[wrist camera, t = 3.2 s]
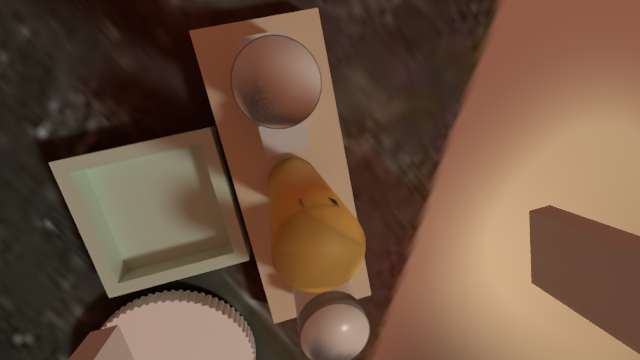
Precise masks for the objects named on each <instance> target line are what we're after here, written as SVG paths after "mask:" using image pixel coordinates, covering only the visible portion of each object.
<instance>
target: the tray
mask: <svg viewBox="0 0 640 360" xmlns="http://www.w3.org/2000/svg"><path fill="white" fill-rule="evenodd" d="M49 165H50V168H51V170H52V172H53V174H54V177H55V179H56V181H57V183H58V185H59V188H60V190H61V192H62V194H63V197H64V199H65V201H66V203H67V205H68V208H69V210H70V212H71V214H72V217H73V219H74V221H75V223H76V225H77V228H78V230H79V232H80V234H81V237H82V239H83V241H84V243H85V245H86V248H87V250H88V252H89V254H90V257H91V259H92V261H93V263H94V266H95V268H96V270H97V272H98V274H99V277H100V279H101V281H102V283H103V286H104V288H105V290H106V292H107V294H108V297H109V298H112V297H116V296H119V295H123V294H127V293H130V292H134V291H138V290H141V289H145V288H149V287H152V286H156V285H160V284H164V283H167V282H171V281H175V280H178V279H182V278H186V277H189V276H193V275H197V274H200V273H204V272H208V271H212V270H215V269H219V268H223V267H226V266H230V265H234V264H237V263H241V262H245V261H249V259H250V249H251V246H250V243H249V240H248V236H247V233H246V229H245V226H244V222H243V219H242V216H241V212H240V209H239V205H238V202H237V199H236V195H235V192H234V188H233V185H232V181H231V178H230V175H229V171H228V168H227V164H226V161H225V157H224V154H223V151H222V147H221V144H220V140H219V137H218V134H217V130H216V127H215V126H211V127H207V128H202V129H197V130H193V131H188V132H184V133H179V134H174V135H170V136H165V137H160V138H156V139H151V140H146V141H142V142H137V143H133V144H128V145H123V146H119V147H114V148H109V149H105V150H100V151H95V152H91V153H86V154H82V155H77V156H72V157H68V158H64V159H60V160H56V161H52V162H49Z"/></svg>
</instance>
